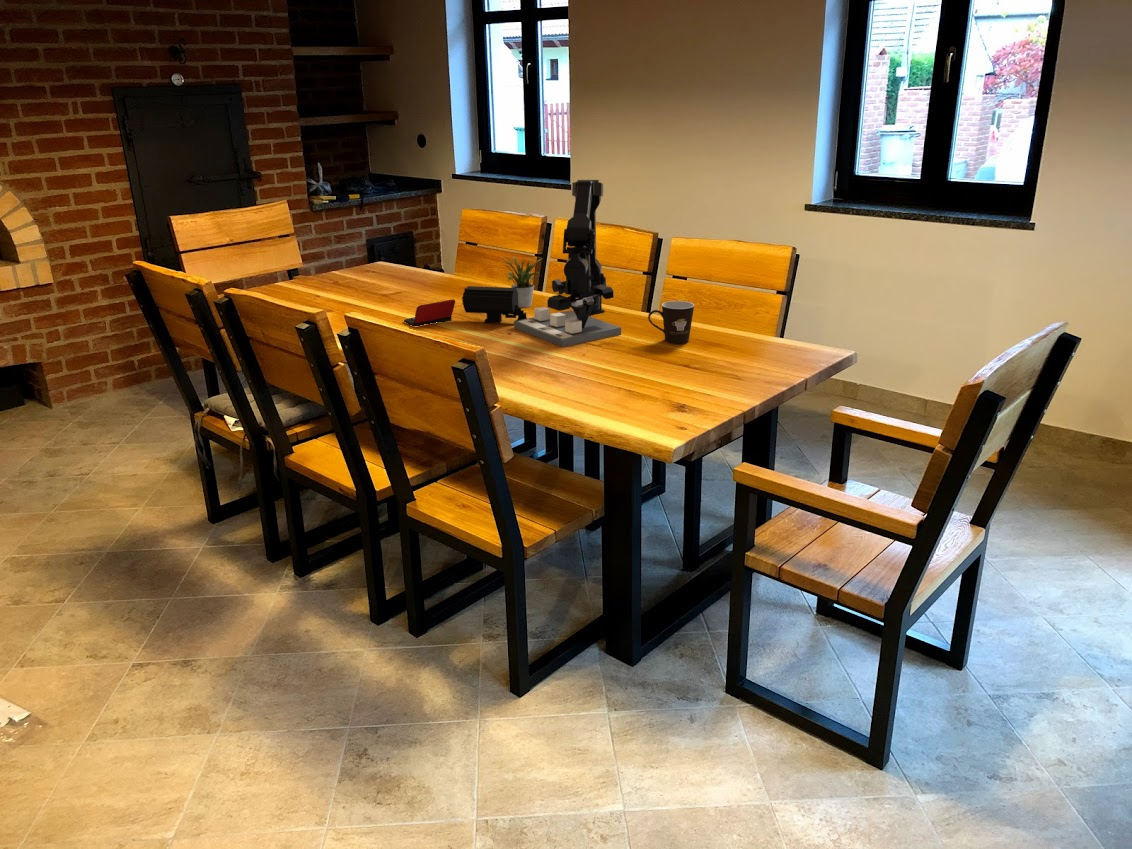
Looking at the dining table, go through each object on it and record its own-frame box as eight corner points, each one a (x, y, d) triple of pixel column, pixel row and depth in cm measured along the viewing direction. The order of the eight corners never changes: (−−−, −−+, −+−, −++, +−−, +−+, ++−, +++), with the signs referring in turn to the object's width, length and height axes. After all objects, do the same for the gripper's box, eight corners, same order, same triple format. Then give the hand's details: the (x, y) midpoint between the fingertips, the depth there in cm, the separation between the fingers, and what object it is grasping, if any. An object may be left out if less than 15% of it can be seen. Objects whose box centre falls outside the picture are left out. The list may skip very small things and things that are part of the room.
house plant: (488, 308, 281) (486, 256, 275) (507, 298, 292) (505, 248, 286) (530, 312, 276) (529, 259, 269) (548, 302, 287) (547, 250, 281)
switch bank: (570, 316, 271) (570, 309, 270) (621, 334, 252) (621, 326, 252) (514, 327, 260) (514, 320, 259) (562, 347, 242) (562, 339, 241)
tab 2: (559, 322, 256) (559, 312, 255) (566, 325, 253) (566, 314, 252) (550, 324, 254) (550, 314, 253) (556, 327, 252) (556, 316, 251)
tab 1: (543, 316, 262) (543, 306, 261) (549, 319, 260) (549, 309, 258) (534, 318, 260) (534, 308, 259) (540, 321, 258) (540, 310, 257)
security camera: (523, 326, 261) (522, 292, 258) (462, 324, 265) (460, 290, 261) (529, 320, 268) (528, 286, 264) (469, 317, 271) (467, 284, 267)
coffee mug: (695, 337, 248) (697, 302, 245) (689, 346, 241) (690, 309, 237) (654, 334, 252) (655, 299, 248) (646, 343, 244) (647, 306, 241)
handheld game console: (440, 316, 274) (438, 292, 271) (457, 323, 266) (456, 299, 263) (402, 323, 267) (400, 298, 265) (419, 331, 259) (417, 305, 256)
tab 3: (574, 329, 250) (574, 318, 248) (581, 331, 247) (581, 321, 246) (565, 331, 248) (565, 320, 247) (572, 333, 245) (572, 322, 244)
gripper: (589, 261, 254) (591, 315, 260) (534, 273, 244) (537, 329, 250) (614, 267, 245) (615, 323, 251) (558, 280, 235) (561, 337, 242)
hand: (582, 327), depth 249 cm, fingers closed
